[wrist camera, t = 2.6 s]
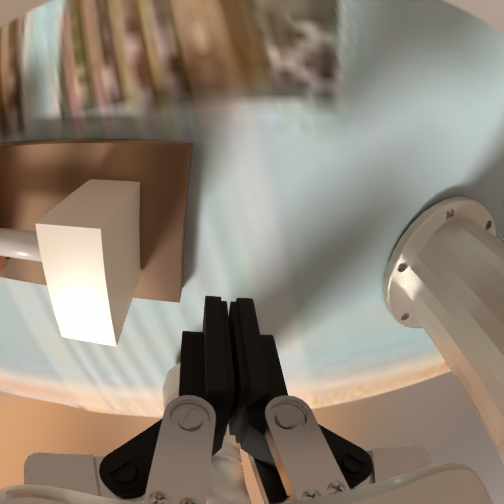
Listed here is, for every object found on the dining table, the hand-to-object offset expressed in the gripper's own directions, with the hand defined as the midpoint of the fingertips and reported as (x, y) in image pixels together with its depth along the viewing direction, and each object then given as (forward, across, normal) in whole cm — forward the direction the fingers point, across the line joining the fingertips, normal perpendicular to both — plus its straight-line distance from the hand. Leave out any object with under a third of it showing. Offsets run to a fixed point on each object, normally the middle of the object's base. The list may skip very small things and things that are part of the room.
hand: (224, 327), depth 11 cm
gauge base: (+9, +15, 0) cm, 18 cm away
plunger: (+7, +10, 0) cm, 12 cm away
